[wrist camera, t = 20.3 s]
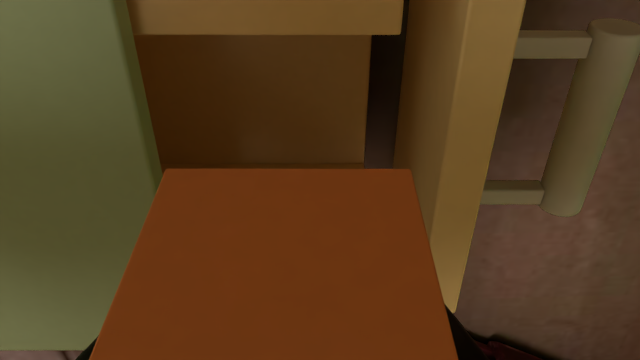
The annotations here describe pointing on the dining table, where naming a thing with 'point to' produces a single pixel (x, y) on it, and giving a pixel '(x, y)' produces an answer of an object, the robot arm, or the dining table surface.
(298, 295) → the block
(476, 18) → the drawer
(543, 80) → the dining table surface
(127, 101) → the cabinet
